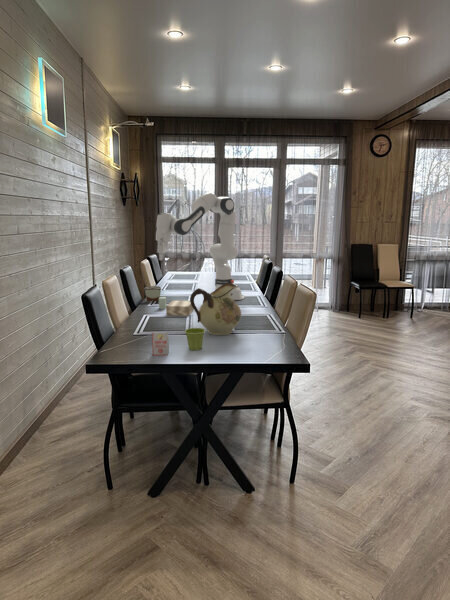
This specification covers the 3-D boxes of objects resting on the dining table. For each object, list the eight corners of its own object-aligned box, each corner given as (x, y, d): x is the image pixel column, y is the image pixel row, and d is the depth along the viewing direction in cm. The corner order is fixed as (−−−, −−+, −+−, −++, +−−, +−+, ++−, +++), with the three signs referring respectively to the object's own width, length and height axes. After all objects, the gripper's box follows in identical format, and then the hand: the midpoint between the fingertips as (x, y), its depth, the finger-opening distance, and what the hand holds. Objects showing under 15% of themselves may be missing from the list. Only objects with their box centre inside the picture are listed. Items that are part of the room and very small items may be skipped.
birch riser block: (193, 309, 272) (193, 300, 271) (188, 316, 256) (188, 306, 255) (172, 309, 274) (172, 300, 272) (166, 315, 258) (166, 306, 257)
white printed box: (154, 352, 190) (153, 331, 188) (168, 352, 190) (168, 331, 188) (152, 355, 187) (151, 333, 184) (167, 355, 187) (167, 333, 184)
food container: (163, 299, 301) (163, 286, 299) (161, 301, 295) (161, 287, 293) (147, 299, 302) (146, 285, 300) (144, 301, 297) (143, 287, 294)
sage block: (166, 307, 278) (166, 297, 276) (165, 308, 274) (164, 298, 273) (160, 307, 278) (160, 297, 277) (159, 308, 274) (158, 298, 273)
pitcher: (248, 329, 226) (248, 283, 221) (228, 341, 206) (227, 291, 200) (212, 324, 236) (211, 280, 231) (189, 335, 216) (187, 288, 211)
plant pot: (181, 350, 193) (180, 332, 191) (191, 344, 202) (190, 326, 200) (199, 352, 189) (199, 334, 188) (208, 346, 198) (208, 329, 196)
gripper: (165, 238, 259) (164, 261, 261) (169, 238, 279) (168, 259, 281) (155, 237, 258) (154, 260, 261) (159, 237, 279) (158, 258, 281)
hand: (161, 259), depth 271 cm, fingers open, 8 cm apart
